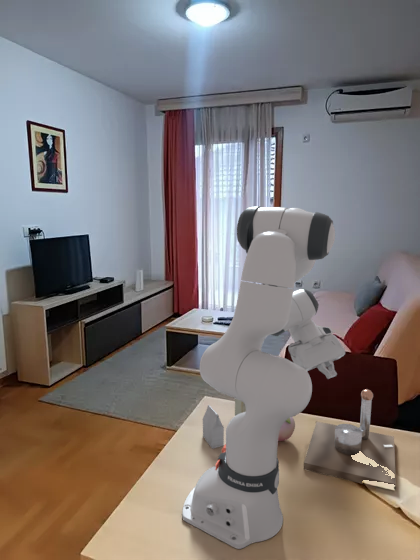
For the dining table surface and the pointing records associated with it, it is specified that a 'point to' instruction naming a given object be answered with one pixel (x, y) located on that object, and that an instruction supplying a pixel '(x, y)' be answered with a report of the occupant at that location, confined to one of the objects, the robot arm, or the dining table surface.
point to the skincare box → (239, 407)
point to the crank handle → (355, 428)
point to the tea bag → (213, 428)
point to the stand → (342, 465)
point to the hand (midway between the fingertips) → (332, 377)
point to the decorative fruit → (286, 429)
